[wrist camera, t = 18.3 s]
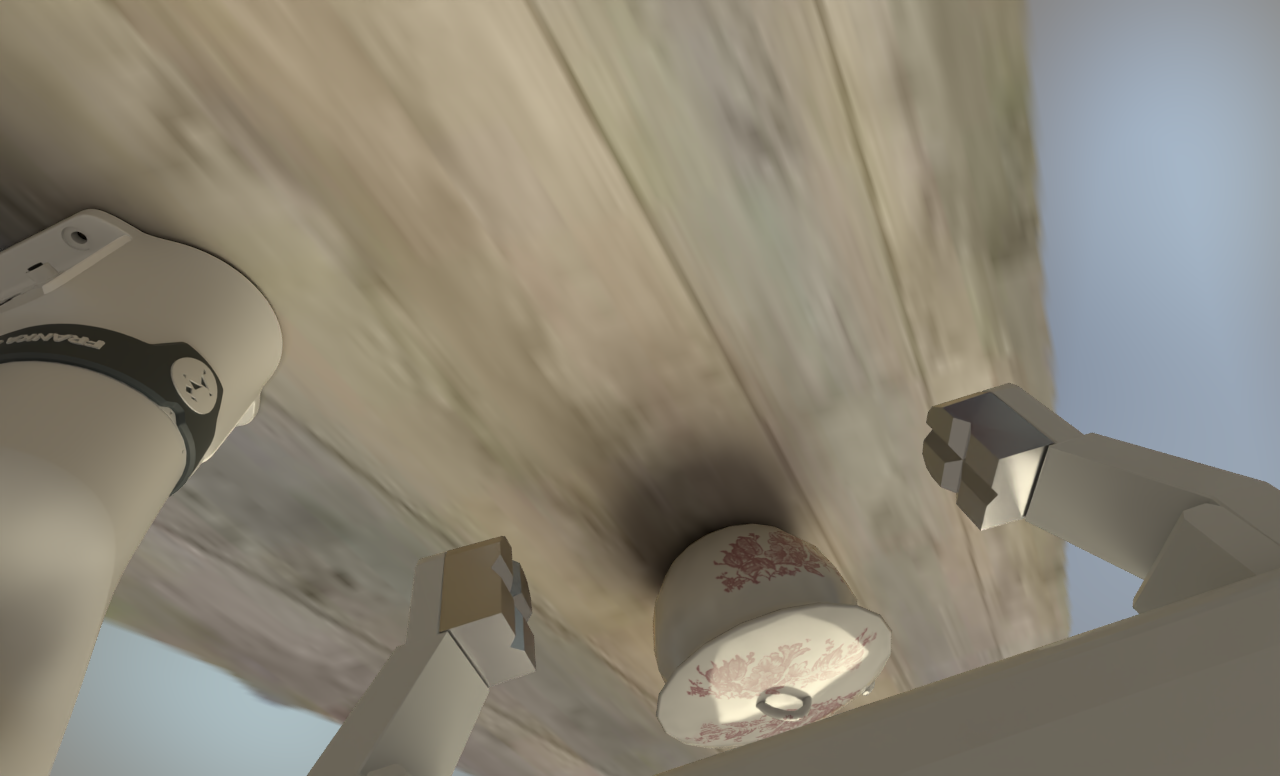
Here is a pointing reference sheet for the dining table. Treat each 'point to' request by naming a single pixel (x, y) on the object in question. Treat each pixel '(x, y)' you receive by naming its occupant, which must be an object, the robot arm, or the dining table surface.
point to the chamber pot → (759, 638)
